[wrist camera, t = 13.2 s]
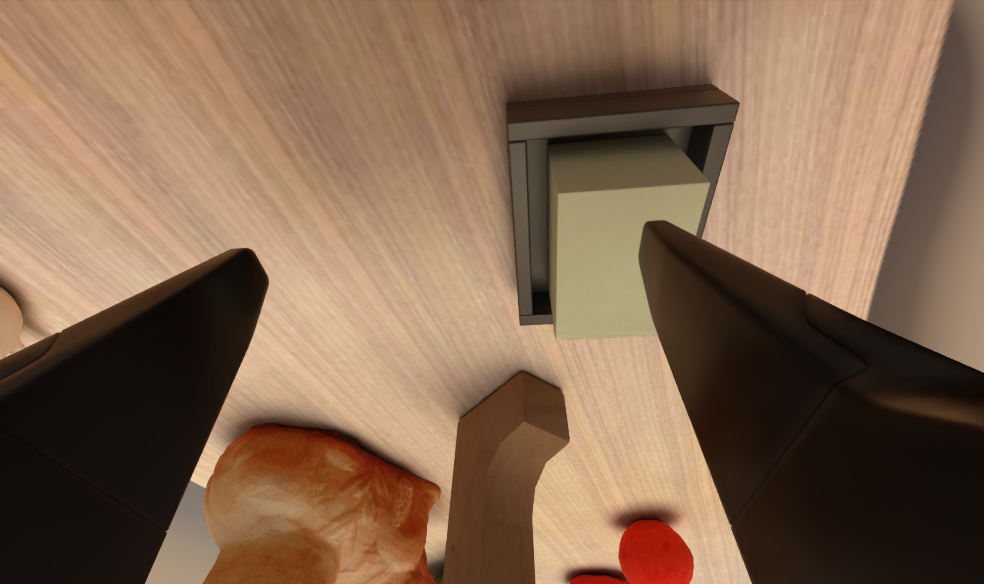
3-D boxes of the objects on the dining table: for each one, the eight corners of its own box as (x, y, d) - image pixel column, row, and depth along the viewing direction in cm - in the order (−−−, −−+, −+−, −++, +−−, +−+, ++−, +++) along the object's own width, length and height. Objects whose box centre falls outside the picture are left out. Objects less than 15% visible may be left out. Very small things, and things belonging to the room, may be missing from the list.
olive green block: (546, 144, 19) (557, 193, 15) (668, 134, 18) (711, 182, 15) (547, 278, 24) (555, 340, 20) (642, 273, 24) (669, 335, 20)
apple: (669, 502, 45) (693, 581, 40) (688, 526, 49) (712, 601, 44) (602, 516, 48) (615, 592, 42) (625, 538, 52) (640, 609, 47)
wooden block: (521, 368, 31) (536, 709, 17) (565, 390, 32) (610, 717, 19) (456, 420, 35) (426, 718, 22) (497, 437, 37) (493, 724, 23)
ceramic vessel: (400, 530, 52) (371, 693, 41) (203, 444, 39) (79, 649, 28) (483, 504, 47) (477, 685, 35) (286, 394, 33) (173, 625, 22)
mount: (505, 102, 18) (506, 122, 16) (712, 83, 18) (741, 102, 16) (518, 294, 26) (519, 326, 24) (664, 286, 25) (679, 318, 23)
